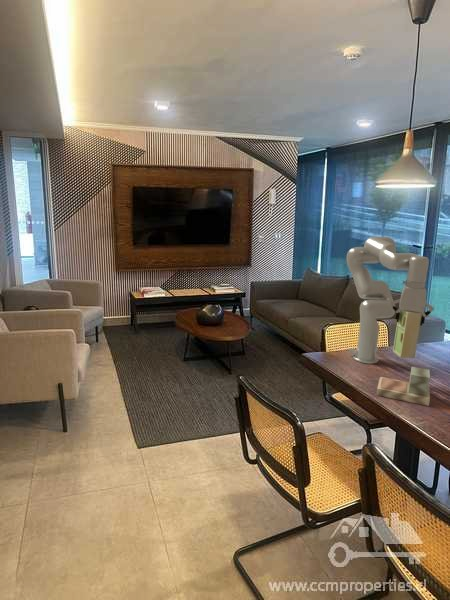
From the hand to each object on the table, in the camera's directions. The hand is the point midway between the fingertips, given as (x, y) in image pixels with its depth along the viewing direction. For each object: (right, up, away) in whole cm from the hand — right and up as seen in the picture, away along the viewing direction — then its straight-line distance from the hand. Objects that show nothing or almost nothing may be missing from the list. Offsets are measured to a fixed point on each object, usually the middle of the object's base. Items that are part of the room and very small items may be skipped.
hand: (409, 323), depth 187 cm
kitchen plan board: (-5, -30, -6) cm, 31 cm away
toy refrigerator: (-1, -15, +5) cm, 16 cm away
